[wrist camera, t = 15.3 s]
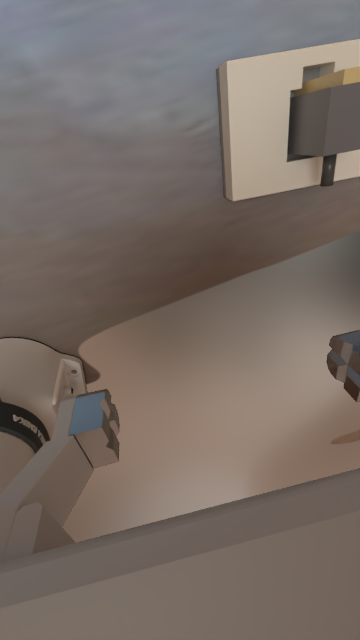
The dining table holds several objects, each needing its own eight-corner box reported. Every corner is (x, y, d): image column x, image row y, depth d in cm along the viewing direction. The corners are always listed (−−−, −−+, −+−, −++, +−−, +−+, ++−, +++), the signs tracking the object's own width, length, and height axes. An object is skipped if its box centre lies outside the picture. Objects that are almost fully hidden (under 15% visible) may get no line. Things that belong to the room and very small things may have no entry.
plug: (312, 175, 34) (357, 183, 28) (281, 181, 34) (319, 191, 28) (321, 80, 29) (379, 62, 23) (285, 87, 29) (333, 71, 23)
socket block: (359, 169, 36) (380, 172, 33) (223, 196, 35) (232, 201, 32) (383, 41, 29) (411, 30, 26) (216, 69, 28) (226, 61, 25)
